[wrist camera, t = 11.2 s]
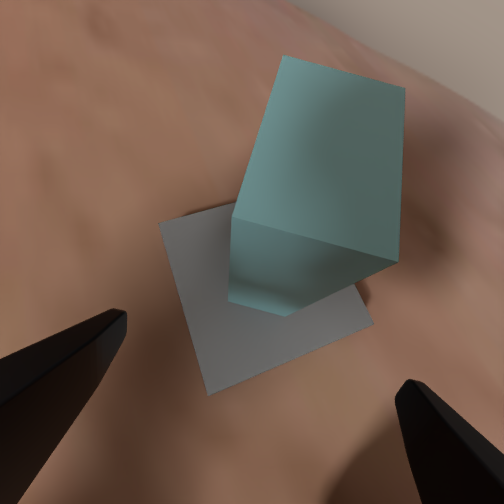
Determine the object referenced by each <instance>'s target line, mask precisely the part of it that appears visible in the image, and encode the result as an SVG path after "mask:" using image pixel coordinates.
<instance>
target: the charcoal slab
mask: <svg viewBox="0 0 504 504" xmlns="http://www.w3.org/2000/svg"><path fill="white" fill-rule="evenodd" d="M235 205H236V202H234V203H230V204H227V205H223V206H220V207H216V208H212V209H209V210H205V211H201V212H198V213H194V214H190V215H187V216H183V217H180V218H176V219H172V220H169V221H165V222H161V223H158V224H159V228H160V231H161V234H162V238H163V241H164V245H165V248H166V252H167V255H168V259H169V262H170V266H171V269H172V273H173V276H174V280H175V283H176V287H177V290H178V294H179V297H180V300H181V304H182V307H183V311H184V314H185V318H186V321H187V325H188V328H189V332H190V335H191V339H192V342H193V346H194V349H195V353H196V356H197V359H198V363H199V366H200V370H201V373H202V377H203V380H204V384H205V387H206V391H207V394H208V396H210V395H212V394H215V393H217V392H219V391H222V390H224V389H226V388H228V387H231V386H233V385H235V384H238V383H240V382H242V381H245V380H247V379H249V378H251V377H254V376H256V375H258V374H261V373H263V372H265V371H268V370H270V369H272V368H274V367H277V366H279V365H281V364H284V363H286V362H288V361H291V360H293V359H295V358H297V357H300V356H302V355H304V354H307V353H309V352H311V351H314V350H316V349H318V348H321V347H323V346H325V345H327V344H330V343H332V342H334V341H337V340H339V339H341V338H344V337H346V336H348V335H350V334H353V333H355V332H357V331H360V330H362V329H364V328H367V327H369V326H371V325H373V324H374V322H373V320H372V318H371V316H370V314H369V312H368V310H367V308H366V306H365V304H364V302H363V300H362V298H361V296H360V294H359V292H358V290H357V288H356V286H355V284H352V285H350V286H348V287H346V288H344V289H342V290H340V291H337V292H335V293H333V294H331V295H329V296H327V297H325V298H323V299H321V300H319V301H317V302H315V303H313V304H311V305H308V306H306V307H304V308H302V309H300V310H298V311H296V312H294V313H292V314H290V315H288V316H286V317H284V316H280V315H277V314H273V313H269V312H266V311H262V310H258V309H254V308H251V307H247V306H243V305H240V304H236V303H232V302H229V301H228V286H229V264H230V242H231V220H232V214H233V211H234V208H235Z"/></svg>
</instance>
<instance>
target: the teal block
mask: <svg viewBox="0 0 504 504" xmlns="http://www.w3.org/2000/svg"><path fill="white" fill-rule="evenodd" d="M404 110H405V88H403V87H399V86H395V85H392V84H388V83H384V82H381V81H377V80H373V79H370V78H366V77H362V76H359V75H355V74H352V73H348V72H344V71H341V70H337V69H333V68H330V67H326V66H322V65H319V64H315V63H311V62H308V61H304V60H300V59H297V58H293V57H289V56H286V55H283V57H282V60H281V64H280V67H279V70H278V73H277V76H276V79H275V82H274V86H273V89H272V92H271V95H270V98H269V101H268V104H267V107H266V111H265V114H264V117H263V120H262V123H261V126H260V129H259V133H258V136H257V139H256V142H255V145H254V148H253V151H252V154H251V158H250V161H249V164H248V167H247V170H246V173H245V176H244V180H243V183H242V186H241V189H240V192H239V195H238V198H237V201H236V205H235V208H234V211H233V214H232V220H231V242H230V264H229V286H228V301H229V302H232V303H236V304H240V305H243V306H247V307H251V308H254V309H258V310H262V311H266V312H269V313H273V314H277V315H280V316H284V317H286V316H288V315H290V314H292V313H294V312H296V311H298V310H300V309H302V308H304V307H306V306H308V305H311V304H313V303H315V302H317V301H319V300H321V299H323V298H325V297H327V296H329V295H331V294H333V293H335V292H337V291H340V290H342V289H344V288H346V287H348V286H350V285H352V284H354V283H356V282H358V281H360V280H362V279H364V278H367V277H369V276H371V275H373V274H375V273H377V272H379V271H381V270H383V269H385V268H387V267H389V266H391V265H393V264H396V263H398V262H399V241H400V215H401V189H402V163H403V137H404Z"/></svg>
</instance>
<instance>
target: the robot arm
mask: <svg viewBox="0 0 504 504" xmlns="http://www.w3.org/2000/svg"><path fill="white" fill-rule="evenodd" d="M126 332H127V312H126V311H123V310H119V309H115V308H113V309H110V310H107V311H105V312H103V313H101V314H99V315H96V316H94V317H92V318H90V319H88V320H85V321H83V322H81V323H79V324H76V325H74V326H72V327H70V328H68V329H65V330H63V331H61V332H59V333H56V334H54V335H52V336H50V337H48V338H45V339H43V340H41V341H39V342H37V343H34V344H32V345H30V346H28V347H25V348H23V349H21V350H19V351H17V352H14V353H12V354H10V355H8V356H6V357H3V358H1V359H0V504H17V503H18V502H19V500H20V499H21V497H22V496H23V495H24V493H25V492H26V490H27V489H28V487H29V486H30V484H31V483H32V481H33V480H34V479H35V477H36V476H37V474H38V473H39V471H40V470H41V468H42V467H43V466H44V464H45V463H46V461H47V460H48V458H49V457H50V455H51V454H52V453H53V451H54V450H55V448H56V447H57V445H58V444H59V442H60V441H61V439H62V438H63V437H64V435H65V434H66V432H67V431H68V429H69V428H70V426H71V425H72V424H73V422H74V421H75V419H76V418H77V416H78V415H79V413H80V412H81V410H82V409H83V408H84V406H85V405H86V403H87V402H88V400H89V399H90V397H91V396H92V395H93V393H94V391H95V390H96V388H97V387H98V385H99V383H100V382H101V380H102V378H103V377H104V375H105V373H106V371H107V369H108V367H109V366H110V364H111V362H112V360H113V358H114V357H115V355H116V353H117V351H118V349H119V348H120V346H121V344H122V342H123V340H124V338H125V336H126ZM395 406H396V410H397V414H398V419H399V423H400V428H401V432H402V436H403V441H404V445H405V449H406V453H407V457H408V461H409V464H410V467H411V471H412V474H413V477H414V480H415V483H416V486H417V489H418V493H419V496H420V499H421V502H422V504H504V454H503V453H502V452H500V451H499V450H498V449H497V448H496V447H495V446H494V445H493V444H491V443H490V442H489V441H488V440H487V439H486V438H485V437H484V436H483V435H481V434H480V433H479V432H478V431H477V430H476V429H475V428H474V427H472V426H471V425H470V424H469V423H468V422H467V421H466V420H465V419H464V418H462V417H461V416H460V415H459V414H458V413H457V412H456V411H455V410H453V409H452V408H451V407H450V406H449V405H448V404H447V403H446V402H445V401H443V400H442V399H441V398H440V397H439V396H438V395H437V394H436V393H434V392H433V391H432V390H431V389H430V388H429V387H428V386H427V385H425V384H424V383H423V382H421V381H417V380H412V379H408V380H406V381H405V383H404V384H403V385H402V387H401V388H400V390H399V391H398V392H397V394H396V396H395Z"/></svg>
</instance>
